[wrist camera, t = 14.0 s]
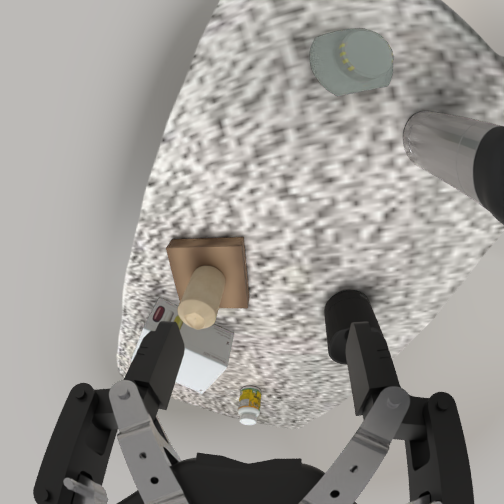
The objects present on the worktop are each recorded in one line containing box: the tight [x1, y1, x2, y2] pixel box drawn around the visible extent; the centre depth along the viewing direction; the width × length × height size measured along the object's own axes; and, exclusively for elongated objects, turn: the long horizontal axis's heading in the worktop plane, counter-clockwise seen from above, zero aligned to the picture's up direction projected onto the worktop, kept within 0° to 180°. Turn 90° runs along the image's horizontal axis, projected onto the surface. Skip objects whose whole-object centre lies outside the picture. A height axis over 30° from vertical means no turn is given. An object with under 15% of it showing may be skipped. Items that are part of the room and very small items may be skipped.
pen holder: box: [325, 290, 383, 364], centre depth 45 cm, size 9×9×10 cm
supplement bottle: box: [238, 386, 261, 425], centre depth 61 cm, size 5×5×10 cm
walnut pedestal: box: [166, 237, 249, 308], centre depth 46 cm, size 12×12×3 cm
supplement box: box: [131, 297, 234, 394], centre depth 52 cm, size 17×13×9 cm
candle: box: [177, 266, 225, 330], centre depth 40 cm, size 6×6×10 cm
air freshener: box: [310, 28, 394, 96], centre depth 25 cm, size 11×8×10 cm
